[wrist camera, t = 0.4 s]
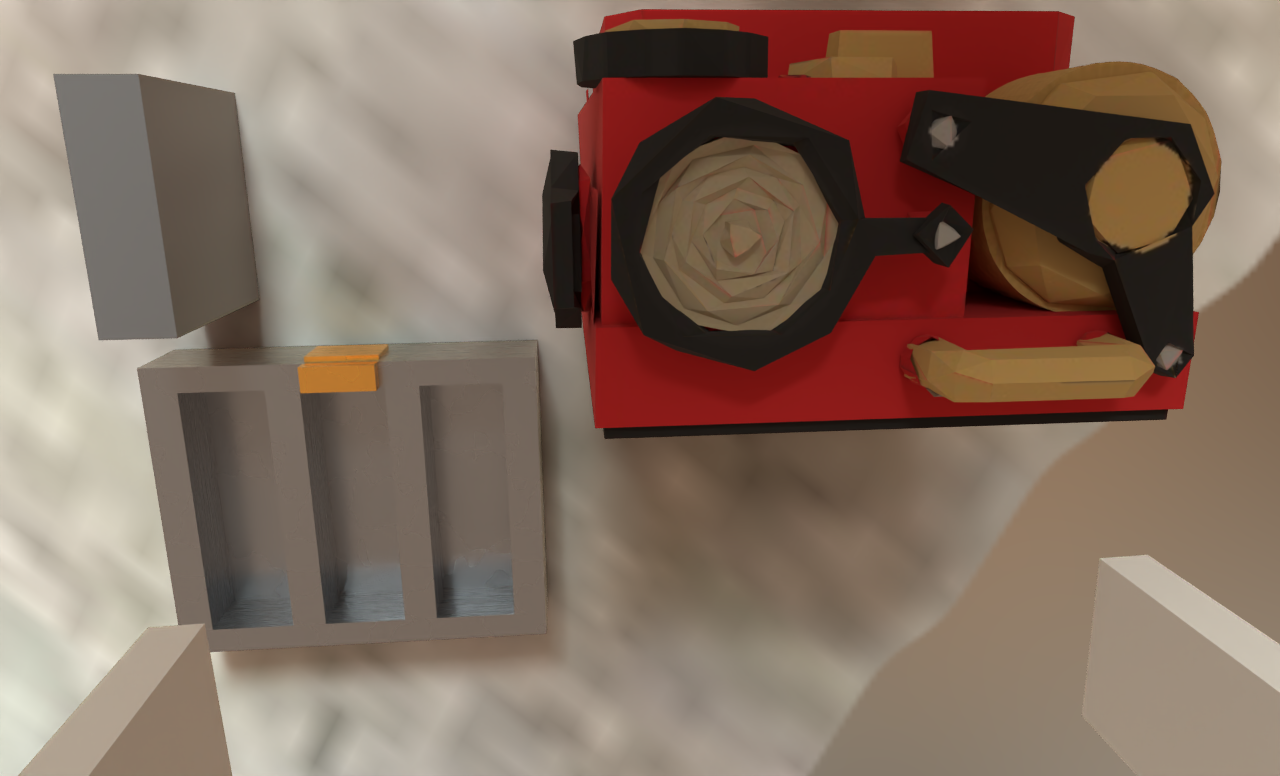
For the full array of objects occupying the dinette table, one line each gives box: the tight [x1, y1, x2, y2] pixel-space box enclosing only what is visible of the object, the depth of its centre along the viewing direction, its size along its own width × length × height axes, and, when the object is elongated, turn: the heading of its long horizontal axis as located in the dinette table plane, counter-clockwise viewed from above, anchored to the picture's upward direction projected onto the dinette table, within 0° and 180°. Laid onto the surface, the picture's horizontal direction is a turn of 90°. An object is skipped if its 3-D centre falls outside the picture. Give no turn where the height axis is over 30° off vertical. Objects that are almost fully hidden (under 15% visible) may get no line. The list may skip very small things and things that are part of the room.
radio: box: [542, 9, 1221, 439], centre depth 27 cm, size 16×10×20 cm, turn 90°
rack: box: [137, 340, 547, 652], centre depth 36 cm, size 12×15×4 cm
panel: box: [53, 74, 260, 340], centre depth 31 cm, size 8×2×8 cm, turn 0°
